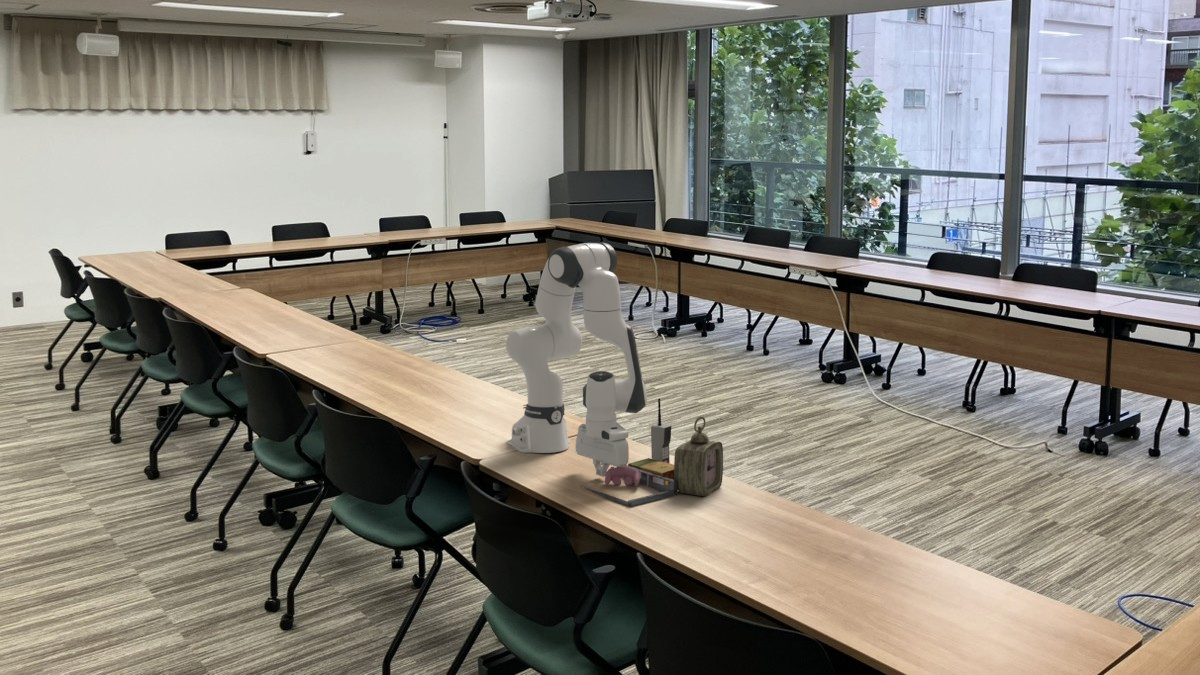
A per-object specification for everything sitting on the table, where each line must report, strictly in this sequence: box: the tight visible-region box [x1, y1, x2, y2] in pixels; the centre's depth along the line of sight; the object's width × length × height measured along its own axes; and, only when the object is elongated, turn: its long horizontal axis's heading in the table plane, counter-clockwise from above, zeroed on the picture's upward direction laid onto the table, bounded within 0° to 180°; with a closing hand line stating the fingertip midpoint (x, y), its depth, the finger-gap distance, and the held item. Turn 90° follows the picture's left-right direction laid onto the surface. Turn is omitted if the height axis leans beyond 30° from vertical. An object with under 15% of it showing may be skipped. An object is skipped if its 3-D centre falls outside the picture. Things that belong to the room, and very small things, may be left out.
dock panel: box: [581, 464, 679, 508], centre depth 288 cm, size 24×17×4 cm
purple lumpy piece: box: [604, 466, 640, 487], centre depth 291 cm, size 10×5×7 cm
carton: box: [627, 457, 674, 480], centre depth 297 cm, size 8×16×4 cm, turn 37°
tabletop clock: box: [673, 416, 724, 497], centre depth 288 cm, size 14×9×25 cm, turn 150°
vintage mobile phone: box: [650, 398, 672, 464], centre depth 308 cm, size 4×5×25 cm
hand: (601, 475), depth 296 cm, fingers closed
